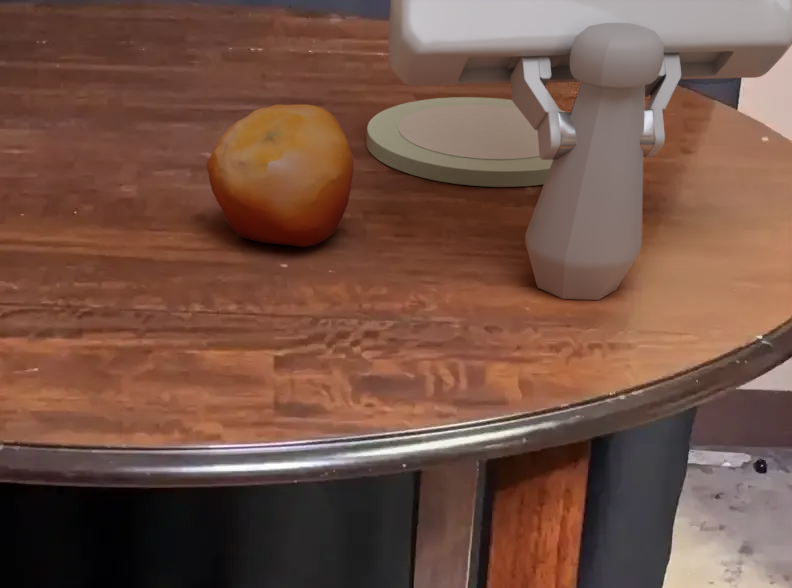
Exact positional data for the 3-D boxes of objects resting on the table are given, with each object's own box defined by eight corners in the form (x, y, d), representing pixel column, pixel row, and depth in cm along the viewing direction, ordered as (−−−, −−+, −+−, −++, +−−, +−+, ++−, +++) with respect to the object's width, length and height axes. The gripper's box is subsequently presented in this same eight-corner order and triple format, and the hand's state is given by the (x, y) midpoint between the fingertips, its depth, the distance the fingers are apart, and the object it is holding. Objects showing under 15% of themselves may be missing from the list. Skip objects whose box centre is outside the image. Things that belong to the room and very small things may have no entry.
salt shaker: (498, 272, 81) (535, 19, 74) (588, 257, 83) (634, 8, 75) (560, 314, 77) (606, 49, 69) (654, 297, 79) (709, 37, 71)
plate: (589, 116, 103) (592, 100, 102) (613, 192, 91) (616, 175, 90) (368, 107, 105) (369, 91, 104) (362, 181, 93) (364, 164, 92)
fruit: (389, 190, 87) (370, 88, 81) (333, 298, 85) (308, 201, 78) (265, 166, 91) (236, 66, 84) (208, 269, 89) (173, 174, 82)
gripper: (389, -137, 74) (410, 127, 72) (799, -145, 75) (832, 116, 73) (364, -58, 80) (383, 187, 78) (743, -66, 81) (772, 176, 79)
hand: (603, 153), depth 75 cm, fingers closed on salt shaker, 3 cm apart
